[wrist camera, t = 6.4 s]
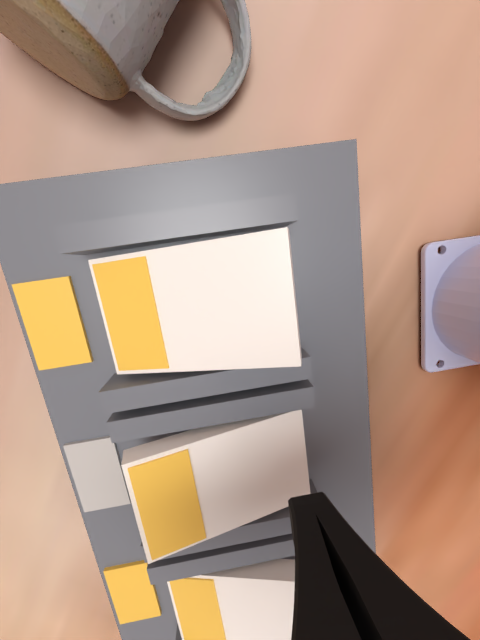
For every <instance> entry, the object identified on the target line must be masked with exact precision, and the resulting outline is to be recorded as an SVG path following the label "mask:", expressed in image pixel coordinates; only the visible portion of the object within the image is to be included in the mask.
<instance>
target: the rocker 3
mask: <svg viewBox="0 0 480 640" xmlns="http://www.w3.org/2000/svg"><path fill="white" fill-rule="evenodd" d="M167 584H168V588H169V591H170V595H171V599H172V603H173V607H174V611H175V615H176V619H177V622H178V626H179V630H180V634H181V638H182V640H291V636H292V624H293V610H294V591H295V560H294V559H276V560H271V561H266V562H261V563H256V564H251V565H247V566H242V567H237V568H232V569H227V570H222V571H217V572H213V573H208V574H203V575H198V576H193V577H188V578H183V579H179V580H174V581H169V582H167Z"/></svg>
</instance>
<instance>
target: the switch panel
mask: <svg viewBox="0 0 480 640" xmlns="http://www.w3.org/2000/svg"><path fill="white" fill-rule="evenodd" d="M285 227H288V228H289V234H290V244H291V254H292V264H293V274H294V284H295V294H296V304H297V314H298V324H299V334H300V344H301V354H302V364H301V366H299V367H276V368H253V369H230V370H207V371H185V372H162V373H139V374H117V372H116V368H115V364H114V360H113V356H112V352H111V348H110V344H109V340H108V337H107V333H106V329H105V325H104V321H103V317H102V313H101V309H100V305H99V301H98V297H97V293H96V290H95V286H94V282H93V278H92V274H91V270H90V266H89V262H88V260H92V259H98V258H104V257H110V256H116V255H122V254H128V253H134V252H140V251H146V250H152V249H158V248H164V247H170V246H176V245H182V244H188V243H194V242H200V241H206V240H212V239H218V238H224V237H230V236H236V235H243V234H249V233H255V232H261V231H267V230H273V229H279V228H285ZM0 263H1V266H2V269H3V272H4V275H5V279H6V282H7V285H8V288H9V291H10V294H11V297H12V300H13V303H14V306H15V310H16V313H17V316H18V319H19V322H20V325H21V328H22V331H23V334H24V337H25V341H26V344H27V347H28V350H29V353H30V356H31V359H32V362H33V365H34V368H35V372H36V375H37V378H38V381H39V384H40V387H41V390H42V393H43V396H44V399H45V403H46V406H47V409H48V412H49V415H50V418H51V421H52V424H53V427H54V430H55V434H56V437H57V440H58V443H59V446H60V449H61V452H62V455H63V458H64V461H65V465H66V468H67V471H68V474H69V477H70V480H71V483H72V486H73V489H74V492H75V496H76V499H77V502H78V505H79V508H80V511H81V514H82V517H83V520H84V524H85V527H86V530H87V533H88V536H89V539H90V542H91V545H92V548H93V551H94V555H95V558H96V561H97V564H98V567H99V570H100V573H101V576H102V579H103V582H104V586H105V589H106V592H107V595H108V598H109V601H110V604H111V607H112V610H113V613H114V617H115V620H116V623H117V626H118V629H119V632H120V635H121V638H122V640H182V638H181V634H180V630H179V626H178V622H177V619H176V615H175V611H174V607H173V603H172V599H171V595H170V591H169V588H168V584H167V582H169V581H174V580H179V579H183V578H188V577H193V576H198V575H203V574H208V573H213V572H217V571H222V570H227V569H232V568H237V567H242V566H247V565H251V564H256V563H261V562H266V561H271V560H276V559H294V560H295V547H294V543H293V537H292V529H291V521H290V513H289V506H288V507H286V508H283V509H281V510H278V511H276V512H273V513H271V514H269V515H266V516H264V517H261V518H259V519H257V520H254V521H252V522H249V523H247V524H244V525H242V526H240V527H237V528H235V529H232V530H230V531H228V532H225V533H223V534H220V535H218V536H215V537H213V538H211V539H208V540H206V541H203V542H201V543H198V544H196V545H194V546H191V547H189V548H186V549H184V550H182V551H179V552H177V553H174V554H172V555H169V556H167V557H165V558H162V559H160V560H157V561H155V562H153V563H150V564H148V562H147V558H146V554H145V551H144V547H143V543H142V540H141V536H140V532H139V529H138V525H137V521H136V518H135V514H134V510H133V507H132V503H131V499H130V496H129V492H128V488H127V485H126V481H125V477H124V474H123V470H122V466H121V464H122V457H123V450H126V449H129V448H132V447H135V446H139V445H142V444H145V443H149V442H152V441H155V440H159V439H162V438H165V437H168V436H172V435H175V434H178V433H182V432H185V431H188V430H192V429H195V428H201V427H207V426H212V425H218V424H224V423H229V422H235V421H240V420H246V419H252V418H257V417H263V416H269V415H274V414H280V413H286V412H291V411H297V410H302V417H303V426H304V436H305V445H306V455H307V465H308V474H309V484H310V493H311V494H312V493H318V492H323V493H325V494H326V496H327V497H328V498H329V500H330V501H331V502H332V504H333V505H334V506H335V508H336V509H337V510H338V511H339V513H340V514H341V515H342V516H343V518H344V519H345V520H346V521H347V522H348V524H349V525H350V526H351V527H352V528H353V529H354V531H355V532H356V533H357V534H358V535H359V536H360V537H361V538H362V539H363V541H364V542H365V543H366V544H367V545H368V546H369V547H370V548H371V549H372V550H373V552H374V553H375V554H376V550H375V528H374V507H373V485H372V464H371V442H370V421H369V399H368V378H367V356H366V335H365V313H364V292H363V271H362V249H361V228H360V206H359V185H358V163H357V142H356V139H353V140H345V141H337V142H329V143H322V144H314V145H306V146H298V147H290V148H282V149H274V150H266V151H258V152H250V153H243V154H235V155H227V156H219V157H211V158H203V159H195V160H187V161H179V162H171V163H163V164H156V165H148V166H140V167H132V168H124V169H116V170H108V171H100V172H92V173H84V174H77V175H69V176H61V177H53V178H45V179H37V180H29V181H21V182H13V183H5V184H0Z"/></svg>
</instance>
